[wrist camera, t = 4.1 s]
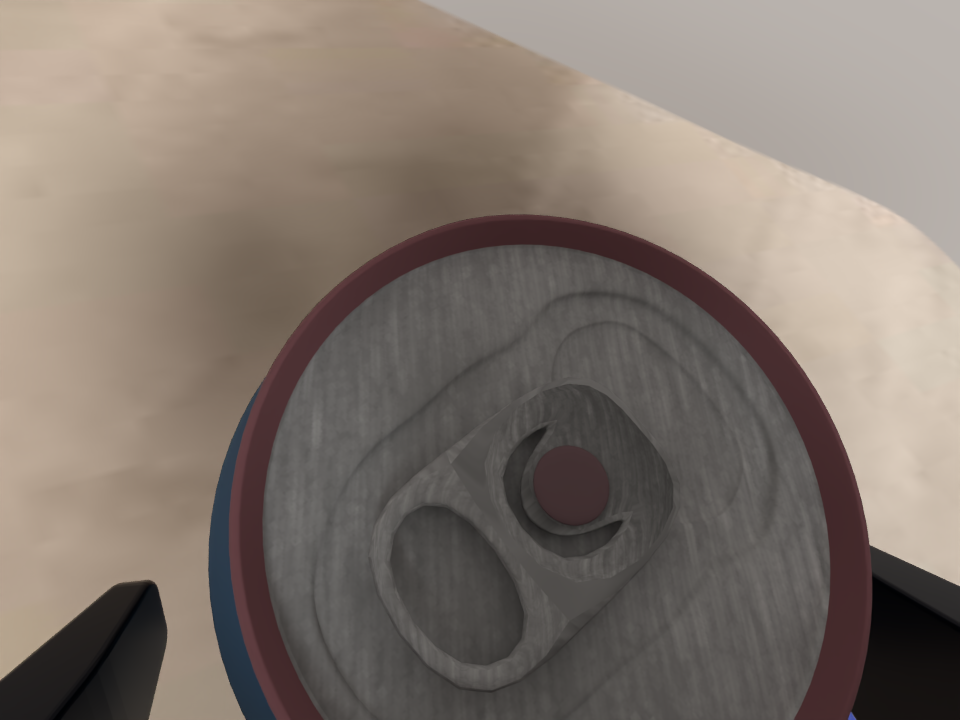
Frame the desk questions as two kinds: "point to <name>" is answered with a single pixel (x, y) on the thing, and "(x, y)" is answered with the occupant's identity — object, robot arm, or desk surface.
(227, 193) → the desk surface
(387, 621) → the soda can
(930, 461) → the desk surface
